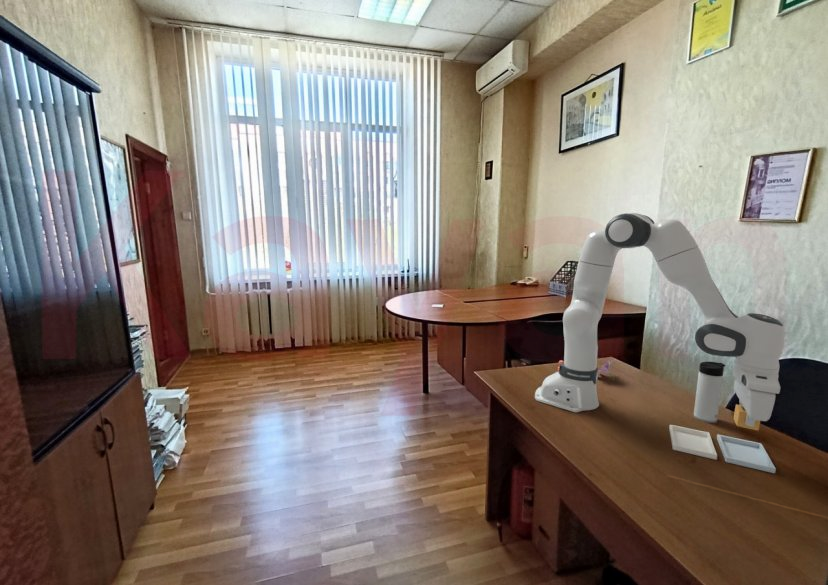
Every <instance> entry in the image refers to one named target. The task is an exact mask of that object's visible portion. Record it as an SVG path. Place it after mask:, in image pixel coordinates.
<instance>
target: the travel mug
mask: <svg viewBox="0 0 828 585" xmlns="http://www.w3.org/2000/svg"><path fill="white" fill-rule="evenodd" d="M725 367H726V364H725V363H722V362H718V361H717V362H716V361H702V362H700V363H699V370H698V374H697V382H696V393H695V401H694V409H693V417H694V419H696V420H698V421H701V422H703V423H706V424H707V423H708V424H716V423H717V422H718V417H719V410H720V402H721V394H722V388H723V378H724V369H725Z"/></svg>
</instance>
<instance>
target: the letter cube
mask: <svg viewBox="0 0 828 585" xmlns="http://www.w3.org/2000/svg"><path fill="white" fill-rule="evenodd" d="M746 416H747V412H746V410H745V408H744V407H743V406H742V405H740V404H737V403H736V404H735V408H734V412H733V420H734V423H735V425H736V427H738V428H739V427H740V428H745V429H749V430H754V431H759V430H760V424H761V421H760V420H756V421H755V425H754V426H753V427H751V426H747V425H746V424H745V422H744V421H745V417H746Z"/></svg>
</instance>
